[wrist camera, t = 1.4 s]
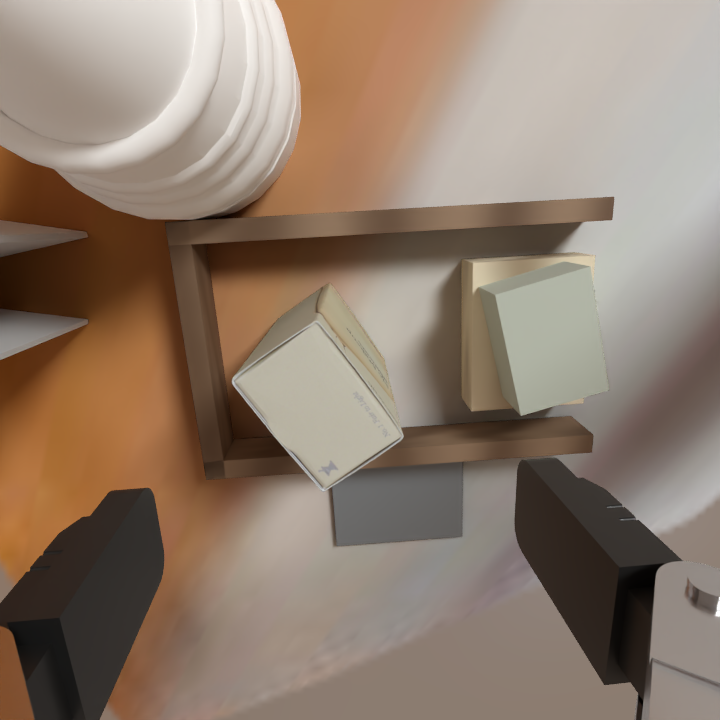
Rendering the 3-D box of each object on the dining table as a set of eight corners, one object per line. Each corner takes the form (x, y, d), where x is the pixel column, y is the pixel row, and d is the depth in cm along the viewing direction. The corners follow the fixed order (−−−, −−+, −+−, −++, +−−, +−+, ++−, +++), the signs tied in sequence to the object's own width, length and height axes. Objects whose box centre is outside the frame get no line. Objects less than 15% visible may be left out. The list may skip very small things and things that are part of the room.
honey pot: (14, 21, 25) (-696, -419, 8) (238, -85, 24) (-3, -832, 7) (137, 254, 29) (-167, 305, 11) (337, 168, 28) (337, 83, 11)
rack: (586, 199, 29) (614, 196, 26) (569, 432, 33) (592, 452, 30) (182, 222, 28) (164, 222, 25) (217, 456, 32) (206, 479, 30)
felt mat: (461, 445, 33) (462, 447, 33) (460, 533, 35) (462, 536, 35) (329, 454, 33) (329, 457, 32) (336, 542, 35) (336, 546, 34)
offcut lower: (570, 251, 30) (595, 255, 27) (561, 387, 33) (583, 403, 30) (459, 258, 30) (472, 262, 27) (459, 394, 33) (471, 411, 30)
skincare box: (385, 358, 31) (413, 440, 19) (329, 396, 32) (324, 499, 20) (327, 278, 30) (320, 315, 18) (269, 319, 30) (226, 382, 18)
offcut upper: (563, 261, 27) (590, 266, 24) (582, 373, 29) (609, 390, 26) (478, 286, 28) (495, 294, 25) (502, 396, 30) (520, 415, 27)
